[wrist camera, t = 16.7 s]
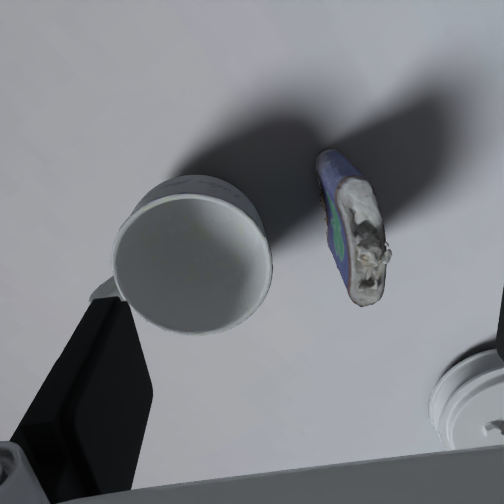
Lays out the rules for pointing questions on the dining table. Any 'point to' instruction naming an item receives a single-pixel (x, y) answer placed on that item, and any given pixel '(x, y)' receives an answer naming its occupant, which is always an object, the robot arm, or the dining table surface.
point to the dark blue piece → (353, 227)
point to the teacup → (191, 257)
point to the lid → (470, 403)
